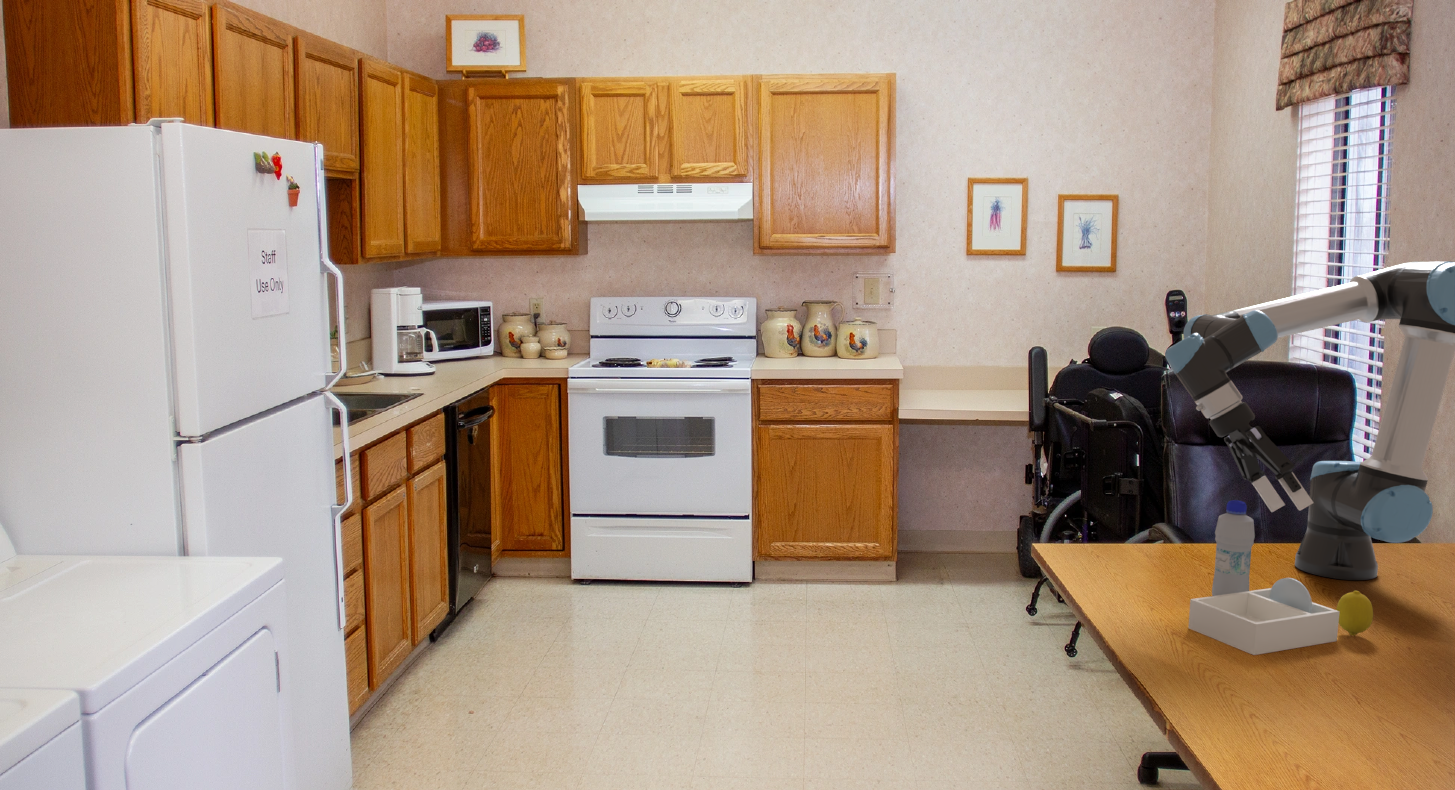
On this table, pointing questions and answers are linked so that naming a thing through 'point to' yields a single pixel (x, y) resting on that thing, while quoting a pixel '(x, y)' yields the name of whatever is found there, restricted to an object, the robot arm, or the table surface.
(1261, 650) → the divided tray
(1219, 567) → the bottle
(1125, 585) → the table surface
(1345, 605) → the lemon
